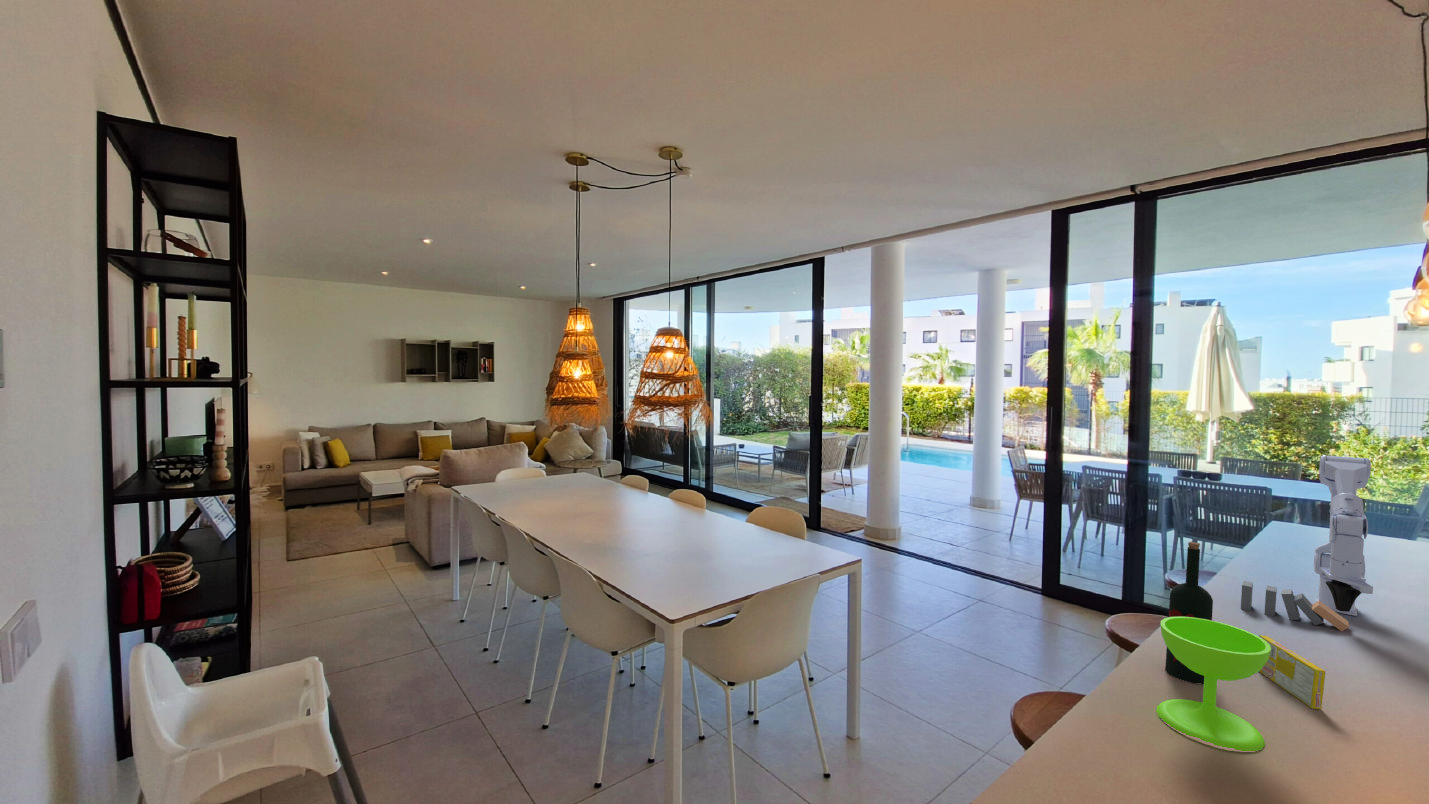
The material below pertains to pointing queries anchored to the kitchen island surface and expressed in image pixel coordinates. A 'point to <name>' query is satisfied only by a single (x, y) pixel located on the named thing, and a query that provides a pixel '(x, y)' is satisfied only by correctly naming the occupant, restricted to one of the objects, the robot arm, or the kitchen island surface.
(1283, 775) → the kitchen island surface
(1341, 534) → the robot arm
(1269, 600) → the tile
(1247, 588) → the tile
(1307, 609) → the tile
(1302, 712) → the kitchen island surface
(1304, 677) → the candy box
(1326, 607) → the tile head
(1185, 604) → the wine bottle
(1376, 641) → the kitchen island surface
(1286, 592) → the tile
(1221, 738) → the wineglass
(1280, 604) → the kitchen island surface
